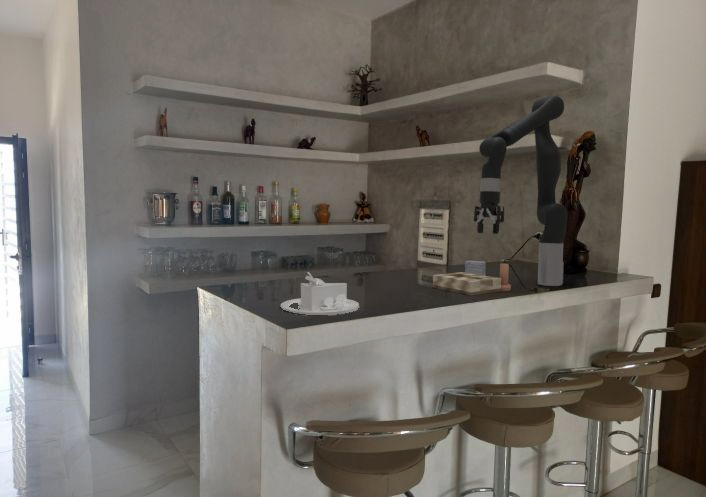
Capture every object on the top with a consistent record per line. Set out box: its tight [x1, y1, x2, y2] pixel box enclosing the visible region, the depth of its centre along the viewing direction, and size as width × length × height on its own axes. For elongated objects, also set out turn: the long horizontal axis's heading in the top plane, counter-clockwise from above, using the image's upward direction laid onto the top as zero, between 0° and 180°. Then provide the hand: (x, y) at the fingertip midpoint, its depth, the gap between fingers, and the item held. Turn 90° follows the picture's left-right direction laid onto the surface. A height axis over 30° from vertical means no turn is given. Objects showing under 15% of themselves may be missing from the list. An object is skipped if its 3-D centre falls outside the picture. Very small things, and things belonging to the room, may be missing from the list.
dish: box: [280, 271, 360, 316], centre depth 162 cm, size 25×25×11 cm
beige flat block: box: [432, 271, 502, 297], centre depth 197 cm, size 20×16×5 cm
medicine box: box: [464, 260, 487, 276], centre depth 217 cm, size 8×4×9 cm, turn 65°
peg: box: [499, 263, 512, 292], centre depth 197 cm, size 5×5×10 cm
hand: (487, 233), depth 196 cm, fingers open, 8 cm apart
